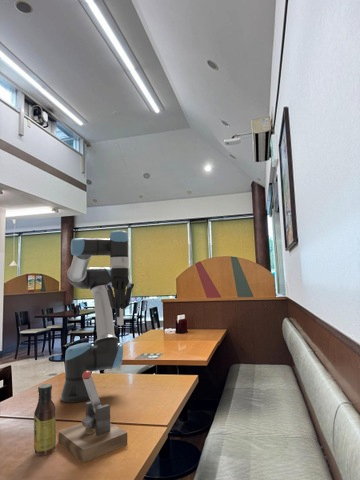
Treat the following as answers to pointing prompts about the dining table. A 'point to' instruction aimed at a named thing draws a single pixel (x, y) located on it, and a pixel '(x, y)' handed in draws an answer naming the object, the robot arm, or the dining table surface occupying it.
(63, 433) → the base
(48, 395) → the sauce bottle
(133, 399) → the dining table surface
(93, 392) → the lever
